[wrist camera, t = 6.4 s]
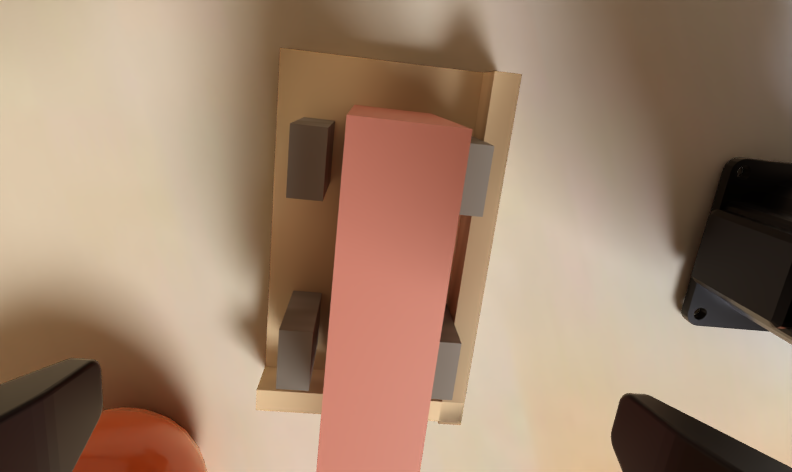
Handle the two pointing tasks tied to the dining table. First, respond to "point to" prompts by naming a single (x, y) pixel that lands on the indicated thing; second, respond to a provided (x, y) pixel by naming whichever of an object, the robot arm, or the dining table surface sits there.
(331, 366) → the pink rectangular block
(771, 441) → the dining table surface
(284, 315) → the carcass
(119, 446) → the tomato
